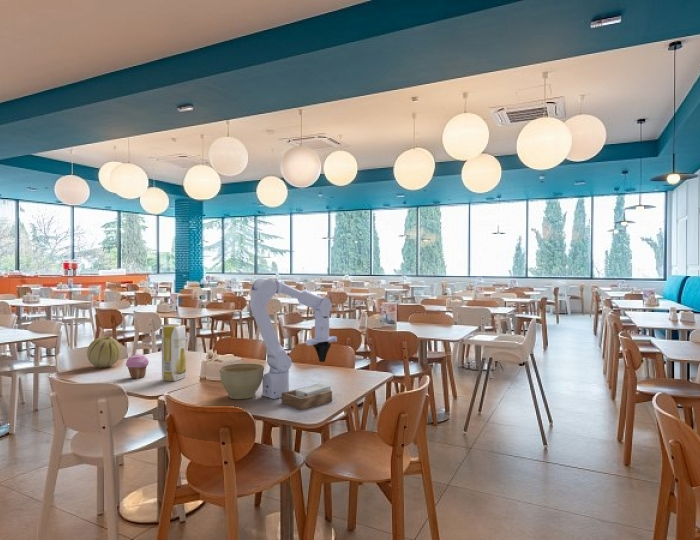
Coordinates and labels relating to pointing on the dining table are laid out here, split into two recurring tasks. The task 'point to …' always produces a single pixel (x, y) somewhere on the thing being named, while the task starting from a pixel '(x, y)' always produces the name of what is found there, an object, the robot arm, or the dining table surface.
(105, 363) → the cantaloupe
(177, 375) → the juice carton
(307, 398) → the walnut cradle
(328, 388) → the skincare box
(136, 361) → the cupcake
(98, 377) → the dining table surface
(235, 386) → the planter bowl
